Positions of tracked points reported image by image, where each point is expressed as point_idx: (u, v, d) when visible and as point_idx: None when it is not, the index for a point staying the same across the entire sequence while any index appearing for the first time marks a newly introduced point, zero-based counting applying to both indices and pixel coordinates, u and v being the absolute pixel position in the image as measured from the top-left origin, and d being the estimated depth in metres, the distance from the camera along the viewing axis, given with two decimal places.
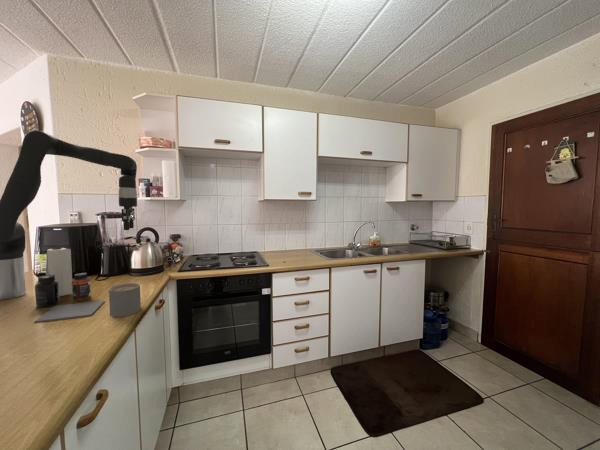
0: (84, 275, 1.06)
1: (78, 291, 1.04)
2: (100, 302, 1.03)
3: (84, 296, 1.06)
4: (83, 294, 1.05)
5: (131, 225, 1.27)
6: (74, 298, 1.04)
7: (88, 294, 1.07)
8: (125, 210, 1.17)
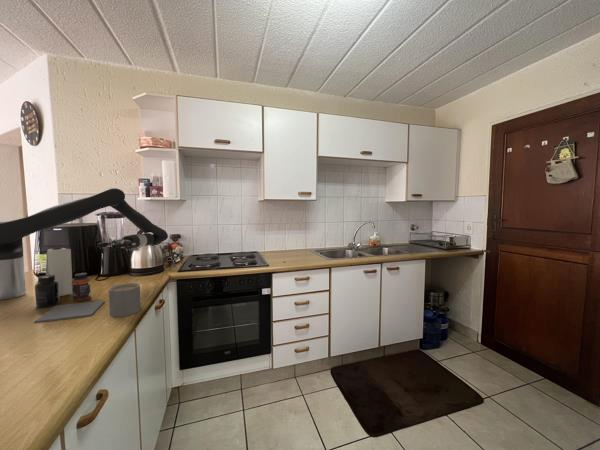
0: (84, 275, 1.06)
1: (78, 291, 1.04)
2: (100, 302, 1.03)
3: (84, 296, 1.06)
4: (83, 294, 1.05)
5: (101, 245, 1.19)
6: (74, 298, 1.04)
7: (88, 294, 1.07)
8: (134, 244, 1.24)
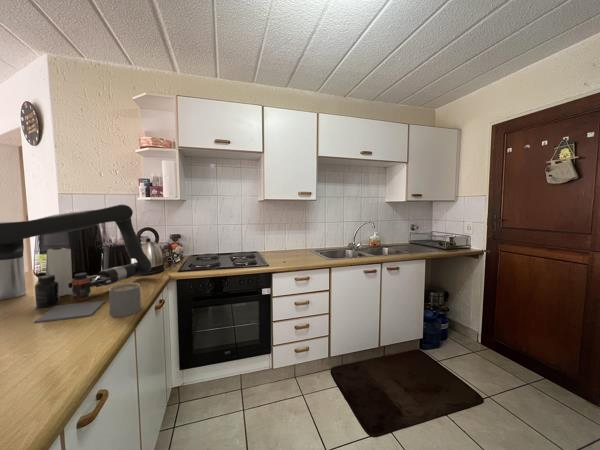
0: (84, 275, 1.06)
1: (78, 291, 1.04)
2: (100, 302, 1.03)
3: (84, 296, 1.06)
4: (83, 294, 1.05)
5: None
6: (74, 298, 1.04)
7: (88, 294, 1.07)
8: (109, 281, 1.12)
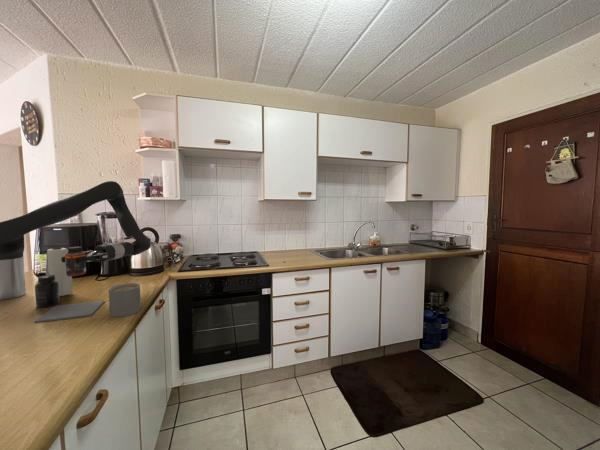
0: (78, 248, 0.98)
1: (72, 265, 0.96)
2: (100, 302, 1.03)
3: (79, 271, 0.97)
4: (77, 269, 0.97)
5: None
6: (68, 273, 0.96)
7: (83, 269, 0.99)
8: (106, 257, 1.04)
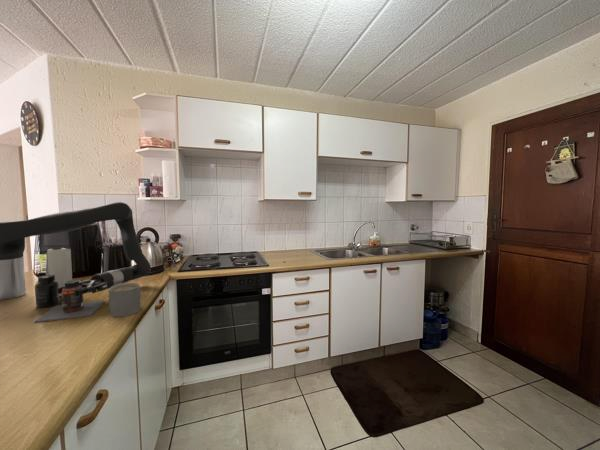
0: (76, 283, 0.94)
1: (69, 301, 0.92)
2: (100, 302, 1.03)
3: (75, 307, 0.94)
4: (74, 305, 0.93)
5: None
6: (64, 309, 0.92)
7: (80, 304, 0.95)
8: (105, 286, 1.01)
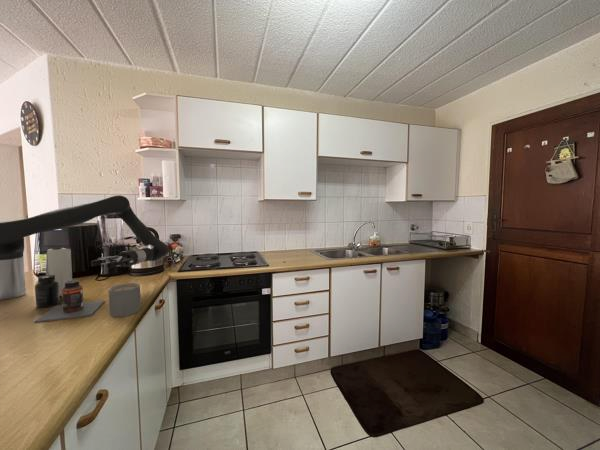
0: (76, 283, 0.94)
1: (69, 301, 0.92)
2: (100, 302, 1.03)
3: (75, 307, 0.94)
4: (74, 305, 0.93)
5: (95, 263, 1.07)
6: (64, 309, 0.92)
7: (80, 304, 0.95)
8: (132, 262, 1.13)
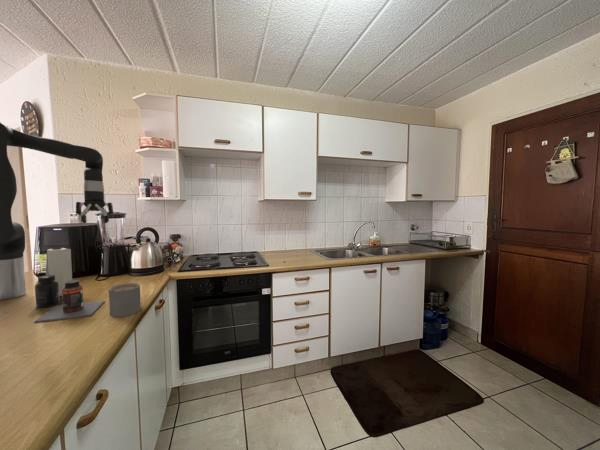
0: (76, 283, 0.94)
1: (69, 301, 0.92)
2: (100, 302, 1.03)
3: (75, 307, 0.94)
4: (74, 305, 0.93)
5: (85, 219, 1.21)
6: (64, 309, 0.92)
7: (80, 304, 0.95)
8: (111, 204, 1.24)
